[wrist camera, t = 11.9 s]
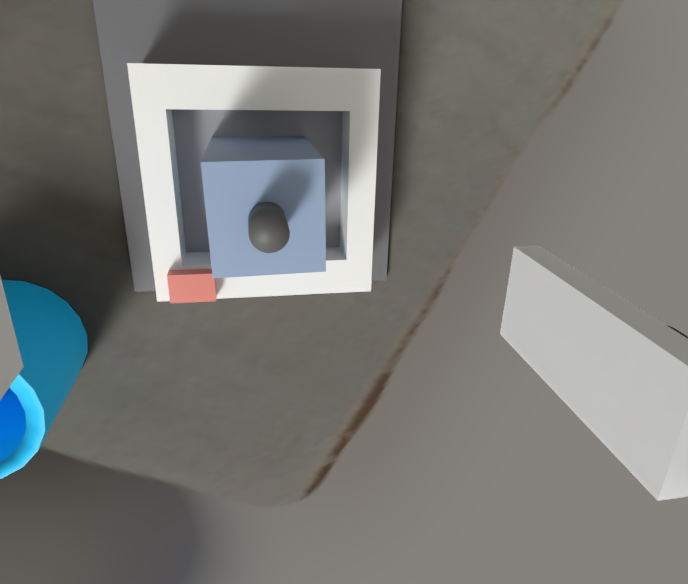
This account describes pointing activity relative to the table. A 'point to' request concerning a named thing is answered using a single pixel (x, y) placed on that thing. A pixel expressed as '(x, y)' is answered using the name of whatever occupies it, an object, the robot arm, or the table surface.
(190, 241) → the socket
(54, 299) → the mug
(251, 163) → the plug
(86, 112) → the table surface
